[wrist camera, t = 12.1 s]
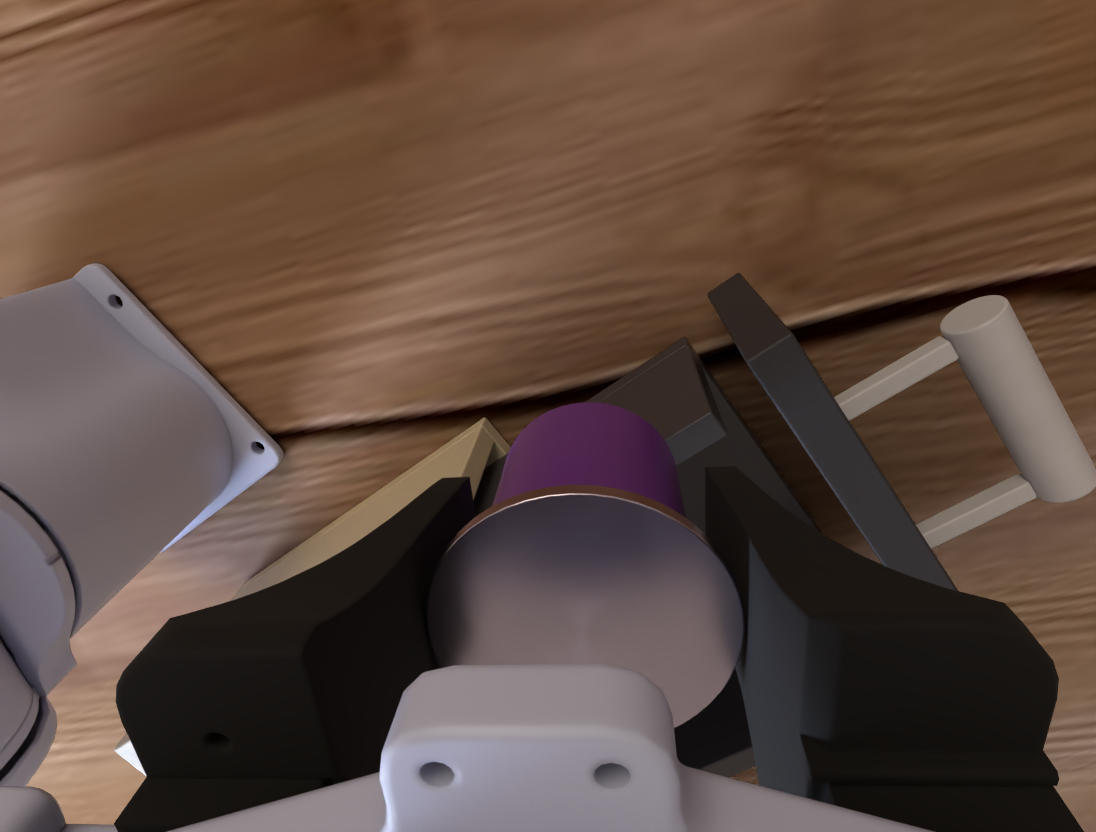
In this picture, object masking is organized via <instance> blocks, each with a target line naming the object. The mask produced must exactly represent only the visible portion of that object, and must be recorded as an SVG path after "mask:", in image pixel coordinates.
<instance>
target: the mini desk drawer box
mask: <svg viewBox="0 0 1096 832" xmlns="http://www.w3.org/2000/svg"><path fill="white" fill-rule="evenodd" d="M510 448H511V447H510V446H509V445H508V444H507V442H506V441H505V440H504V439H503V438H502V436H501V435H500V434H499V433H498V432H497V430H496V429H495V428H494V427H493V426H492V424H491V423H490V422H489V421H488V420H487V418H485V417H484V418H482V419H481V420H480V421H478V422H477V423H475V424H474V425H472V426H471V427H469V428H468V429H467V430H465V431H464V432H462V433H461V434H459V435H458V436H456V437H455V438H453V439H452V440H451V441H449V442H448V443H446V444H445V445H443V446H442V447H440V448H439V449H438V450H436V451H435V452H433V453H432V454H430V455H429V456H427V457H426V458H424V459H423V460H422V461H420V462H419V463H417V464H416V465H414V466H413V467H411V468H410V469H409V470H407V471H406V472H404V473H403V474H401V475H400V476H398V477H397V478H395V479H394V480H393V481H391V482H390V483H388V484H387V485H385V486H384V487H382V488H381V489H380V490H378V491H377V492H375V493H374V494H372V495H371V496H369V497H368V498H367V499H365V500H364V501H362V502H361V503H359V504H358V505H356V506H355V507H353V508H352V509H351V510H349V511H348V512H346V513H345V514H343V515H342V516H340V517H339V518H338V519H336V520H335V521H333V522H332V523H330V524H329V525H327V526H326V527H324V528H323V529H322V530H320V531H319V532H317V533H316V534H314V535H313V536H311V537H310V538H309V539H307V540H306V541H304V542H303V543H301V544H300V545H298V546H297V547H295V548H294V549H293V550H291V551H290V552H288V553H287V554H285V555H284V556H282V557H281V558H280V559H278V560H277V561H275V562H274V563H272V564H271V565H269V566H268V567H267V568H265V569H264V570H262V571H261V572H259V573H258V574H256V575H255V576H253V577H252V578H251V579H249V580H248V581H246V582H245V583H244V584H243V586H242V587H241V588H240V590H239V591H238V592H237V594H236V595H235V596H234V597H233V599H232V600H235V599H238V598H241V597H244V596H246V595H249V594H252V593H255V592H257V591H260V590H263V589H265V588H268V587H270V586H273V585H275V584H278V583H280V582H282V581H284V580H286V579H288V578H291V577H293V576H295V575H297V574H299V573H301V572H303V571H305V570H308V569H310V568H312V567H314V566H316V565H318V564H320V563H322V562H324V561H325V560H327V559H329V558H331V557H332V556H334V555H336V554H338V553H339V552H341V551H343V550H345V549H346V548H348V547H349V546H351V545H353V544H354V543H356V542H357V541H359V540H360V539H362V538H363V537H365V536H366V535H367V534H369V533H370V532H372V531H373V530H374V529H376V528H377V527H379V526H380V525H381V524H383V523H384V522H386V521H387V520H388V519H390V518H391V517H392V516H394V515H395V514H396V513H397V512H399V511H400V510H401V509H403V508H404V507H405V506H406V505H408V504H409V503H410V502H411V501H413V500H414V499H415V498H416V497H418V496H419V495H420V494H421V493H423V492H424V491H425V490H426V489H428V488H429V487H430V486H431V485H433V484H434V483H435V482H437V481H438V480H440V479H441V478H451V477H470V482H471V489H472V495H473V500H474V497H475V495H476V492H477V489H478V486H479V483H480V481H481V478H482V475H483V472H484V469H485V468H486V467H488V466H489V465H491V464H492V463H494V462H495V461H497V460H498V459H500V458H501V457H503V456H504V455H506V454H507V453H509V451H510ZM232 600H231V601H232ZM114 751H115V752H116V753H118V754H119V755H120V756H121V757H123V758H124V759H125V760H126V761H128V762H129V763H130V764H132V765H133V766H134V767H135V768H137V769H138V770H139V771H140V772H142V773H143V774H144V775H146V774H145V772H144V770H143V767H142V765H141V763H140V761H139V759H138V756H137V754H136V752H135V750H134V748H133V745H132V743H131V741H130V739H129V737H128V734H127V733H126V734H125V736H124V737H123V738H122V740H121V741H120V742H119V743H118V745H117V746H116V747H115V749H114Z"/></svg>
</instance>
